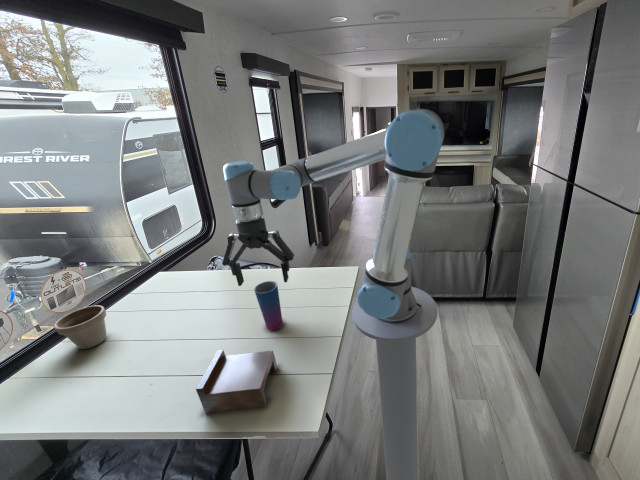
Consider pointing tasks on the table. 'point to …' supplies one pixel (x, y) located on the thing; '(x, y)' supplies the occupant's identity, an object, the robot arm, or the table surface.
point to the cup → (269, 304)
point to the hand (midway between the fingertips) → (264, 281)
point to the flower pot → (84, 326)
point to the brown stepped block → (235, 381)
